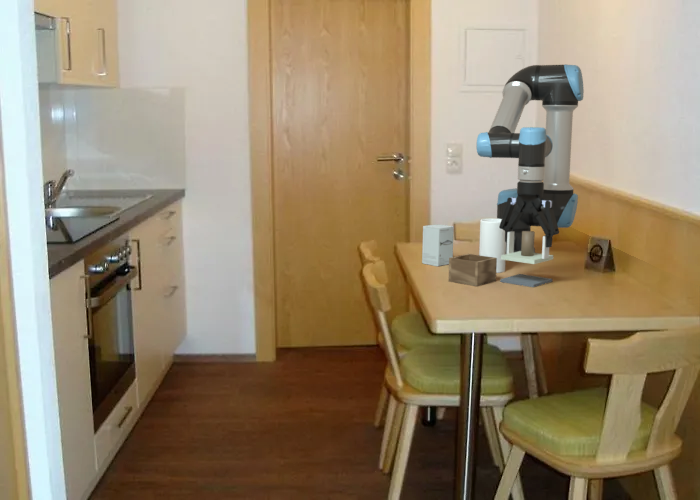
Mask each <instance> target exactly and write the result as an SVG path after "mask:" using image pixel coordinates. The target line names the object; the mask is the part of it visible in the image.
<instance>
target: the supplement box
mask: <svg viewBox="0 0 700 500" xmlns="http://www.w3.org/2000/svg"><path fill="white" fill-rule="evenodd" d="M454 230H455V229H454V226H453V225H447V224H429V225H423V226H422V253H421V254H422V255H421V257H422V258H421V263H422V264H425V265H427V266H428V265H429V266H434V267H440V266H441V267H442V266H446V265H449V258H452V257H454V255H453V254H454Z"/></svg>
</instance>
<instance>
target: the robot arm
mask: <svg viewBox="0 0 700 500" xmlns="http://www.w3.org/2000/svg"><path fill="white" fill-rule="evenodd" d="M584 92H585V90H584V80H583V73H582V69H581V68H580V66H578V65H576V64H546V65H545V64H533V65H528V66H526V67H523V68H522V69H520V70H518V71H517V72H515V73H514V74H513V75H512V76H511V77H509V78H508V80H507V81H506V83H505V85H504V87H503V89H502V99H501V101H500V104H499V106H498V109H497V111H496V114H495V116H494V119H493V121H492V123H491V125H490V128H489V129H488V130H489V131H485V132H480V133H479V134H478V135H477V138H476V153H477V155H478V156H479V157H483V158H490V159H492V158H493V159H494V158H499V159H504V158H505V159H518V163H517V164H518V165H517V166H518V167H517V180H519V181H518V182H517V184H516V185H517V186H516V187H517V188H509V189H503V190H501V191H499V193H498V195H497V203H496V219H502V220H501V223H500V226H499V228H500V229H503V230H504V231H505V242H506V254H510V253H514V252H518V251H521V245H522V231H532V230H531V228H532V227H540V228H541V229H542V231H543V233H544V234H545V235H543V236H542V245H541V246H542V248H541V249H542V250H541V254H542V259H546V258H549V255H550V248H552V245H553V237H554V236H555V235H558V234H559V233H560V228H561V229H562V228H564V229H566V228H570V227H571V226H572V225H573V223H574V220H575V217H576V212H577V207H578V203H579V201H578V200H579V195H578V194H577V193H575V192H574V190H575V189H574V187H573V186H572V185H571V184H570V177H571V176H570V175H571V174H570V173H571V157H572V156H571V155H572V138H573V137H572V136H573V135H572V132H573V119H574V118H573V117H574V115H573V113H574V111H575V110H576V109H577V108H578V107H579V102H581V101H583V100H584ZM531 101H541V102H542V103H541V104H542V105H541V107H542V108H543V109H544V110H545V111H546V115H545V117H546V118H545V120H546V121H545V127H537V126H536V127H535V126H534V127H533V126H530V127H527V126H526V127H525V126H524V127H521V128H520V130H519V132H516V129H517V127H518V125H519V122H520V119H521V117H522V114H523V111H524V109H525V106H527V105H528V104H529V103H530V102H531ZM534 253H536V249H535V247H534Z"/></svg>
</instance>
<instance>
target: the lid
mask: <svg viewBox="0 0 700 500" xmlns="http://www.w3.org/2000/svg"><path fill="white" fill-rule="evenodd" d="M535 234H536V233H535V231H532V230H531V231H522V245H521V251H518V252H514V253H510V254H505V255H501V259H502V260H505V261H511V262H517V263H524V264H531V265H536V264H541V263H544V262H548V261H552V260H554V254H549V258H546V259H542V253H541V252H540V253H538V252H535V253H534V248H535Z"/></svg>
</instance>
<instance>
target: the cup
mask: <svg viewBox="0 0 700 500" xmlns="http://www.w3.org/2000/svg"><path fill="white" fill-rule="evenodd" d="M501 220H502V219H497V218H481V219H480V221H479V248H478V250H479V252H478V253H479V254H478V255H480V256H487V257H494V258H497V266H496V274H497V273H498V274H501V273H504V272H505V271H506V260H502V259H501V255H505V254H506V242H505V231H504V230H503V229H500V228H499V226H500V223H501Z"/></svg>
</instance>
